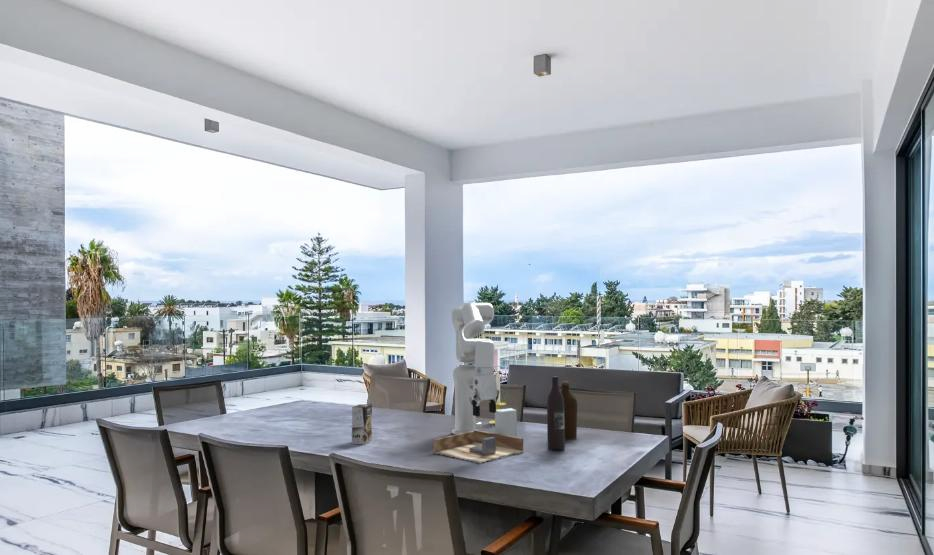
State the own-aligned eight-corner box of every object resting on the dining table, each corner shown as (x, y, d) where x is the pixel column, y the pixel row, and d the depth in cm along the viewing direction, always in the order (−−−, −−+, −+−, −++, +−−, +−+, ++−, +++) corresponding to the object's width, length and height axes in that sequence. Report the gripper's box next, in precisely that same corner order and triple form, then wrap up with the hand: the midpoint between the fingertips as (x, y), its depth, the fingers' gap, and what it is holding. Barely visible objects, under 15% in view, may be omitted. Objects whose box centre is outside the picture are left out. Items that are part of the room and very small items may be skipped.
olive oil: (569, 434, 294) (569, 379, 295) (582, 438, 284) (581, 382, 286) (549, 436, 290) (549, 381, 291) (562, 440, 280) (561, 383, 282)
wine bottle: (554, 451, 258) (553, 377, 260) (544, 448, 265) (543, 376, 266) (568, 450, 262) (567, 376, 263) (558, 446, 268) (557, 375, 269)
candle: (487, 424, 320) (486, 370, 321) (489, 421, 330) (489, 368, 331) (507, 424, 318) (506, 370, 320) (509, 421, 328) (508, 369, 330)
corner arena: (476, 443, 276) (476, 430, 277) (523, 452, 258) (523, 438, 259) (433, 453, 257) (433, 439, 258) (480, 463, 240) (480, 448, 240)
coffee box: (365, 444, 275) (365, 407, 275) (351, 444, 276) (351, 406, 277) (372, 440, 284) (372, 404, 284) (359, 439, 285) (359, 403, 286)
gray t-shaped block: (495, 452, 253) (495, 437, 253) (486, 455, 249) (486, 439, 249) (478, 449, 259) (478, 434, 259) (468, 451, 255) (468, 436, 255)
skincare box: (512, 442, 278) (511, 407, 279) (517, 444, 272) (517, 409, 273) (494, 443, 275) (494, 409, 276) (499, 446, 269) (499, 411, 270)
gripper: (476, 374, 245) (476, 418, 245) (505, 370, 258) (505, 412, 258) (462, 372, 251) (462, 416, 250) (491, 368, 263) (491, 410, 263)
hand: (484, 414), depth 254 cm, fingers open, 9 cm apart
